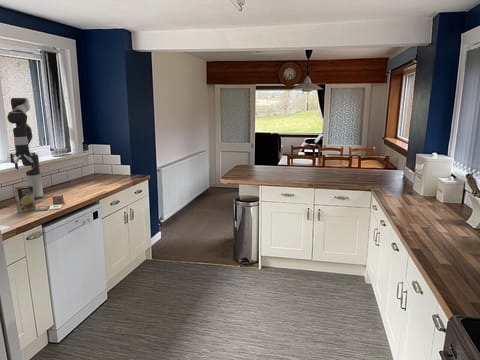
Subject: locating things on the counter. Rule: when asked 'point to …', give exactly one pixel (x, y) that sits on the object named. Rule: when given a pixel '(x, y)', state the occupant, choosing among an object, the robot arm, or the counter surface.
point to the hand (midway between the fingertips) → (25, 168)
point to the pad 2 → (56, 207)
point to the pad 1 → (42, 208)
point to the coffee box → (25, 199)
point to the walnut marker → (57, 199)
